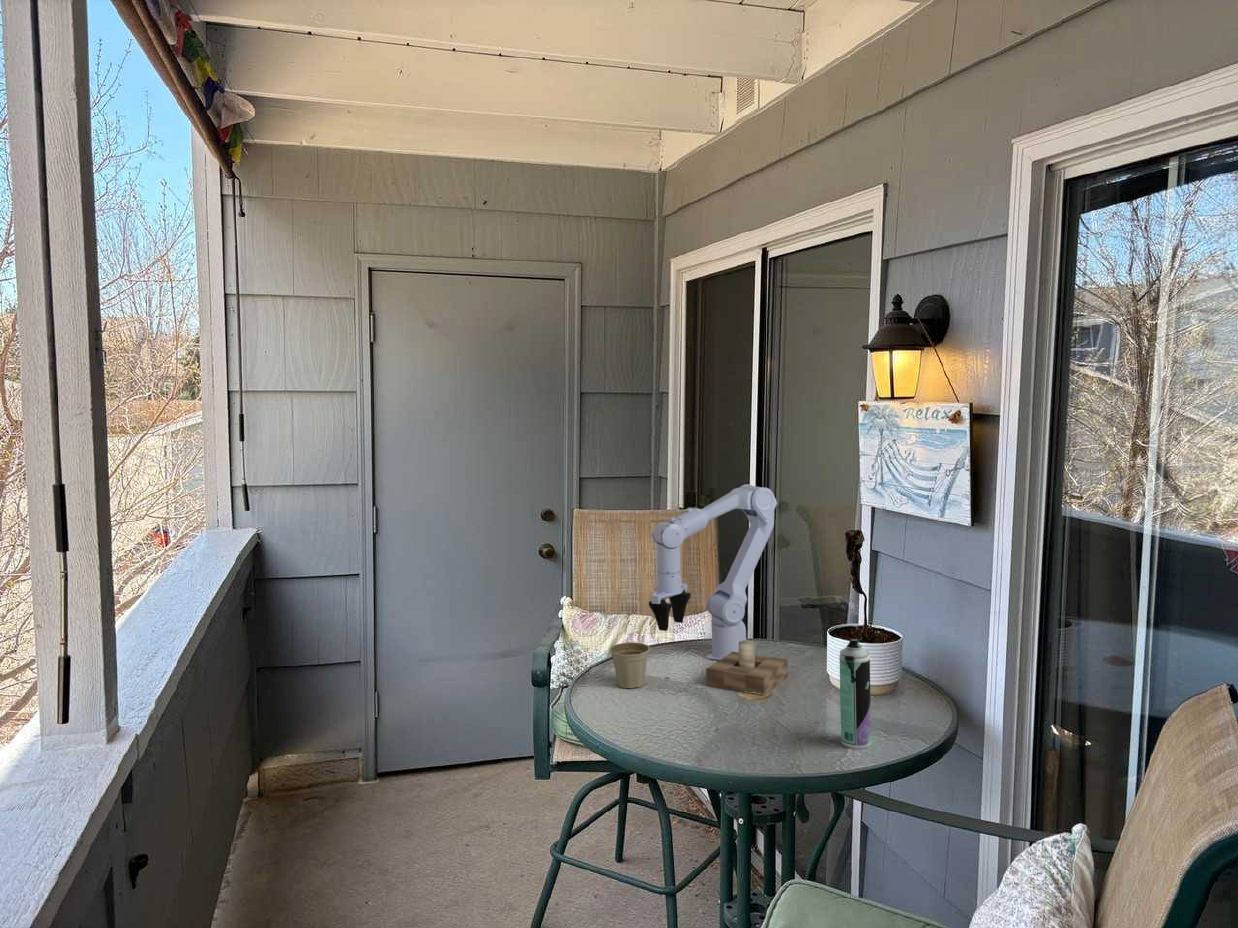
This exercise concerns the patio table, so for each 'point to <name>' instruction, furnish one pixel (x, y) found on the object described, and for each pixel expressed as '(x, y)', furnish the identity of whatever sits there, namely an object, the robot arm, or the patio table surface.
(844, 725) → the spray can
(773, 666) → the socket block
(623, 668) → the flower pot
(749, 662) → the peg
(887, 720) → the patio table surface
